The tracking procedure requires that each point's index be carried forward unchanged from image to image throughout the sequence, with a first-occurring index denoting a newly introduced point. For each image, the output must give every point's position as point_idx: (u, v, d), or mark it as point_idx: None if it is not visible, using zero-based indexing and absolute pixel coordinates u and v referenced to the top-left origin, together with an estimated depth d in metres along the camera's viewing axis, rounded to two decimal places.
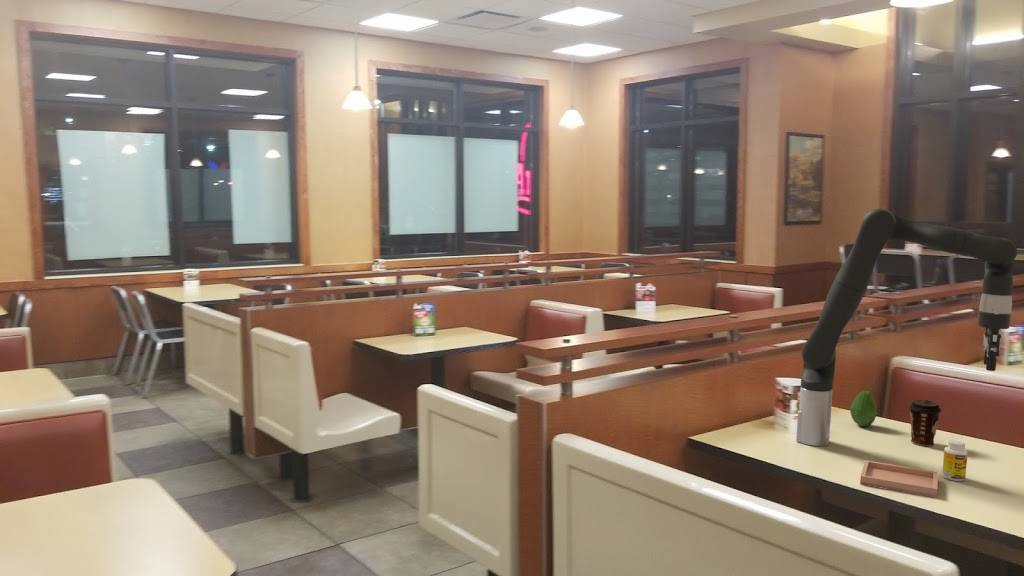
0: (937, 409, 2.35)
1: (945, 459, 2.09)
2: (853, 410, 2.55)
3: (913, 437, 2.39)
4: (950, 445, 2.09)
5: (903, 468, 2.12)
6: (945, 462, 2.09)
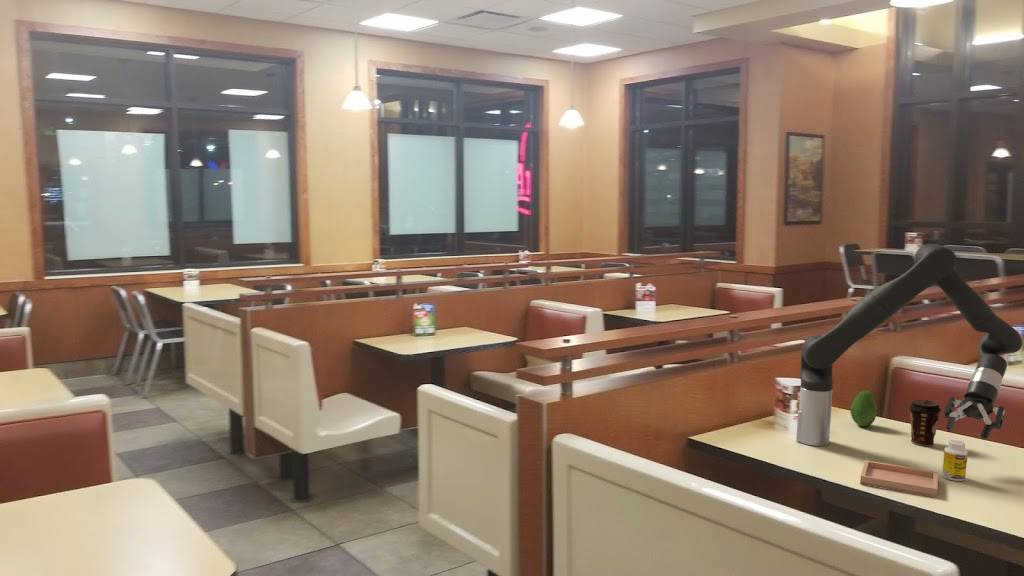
0: (937, 409, 2.35)
1: (945, 459, 2.09)
2: (853, 410, 2.55)
3: (913, 437, 2.39)
4: (950, 445, 2.09)
5: (903, 468, 2.12)
6: (945, 462, 2.09)
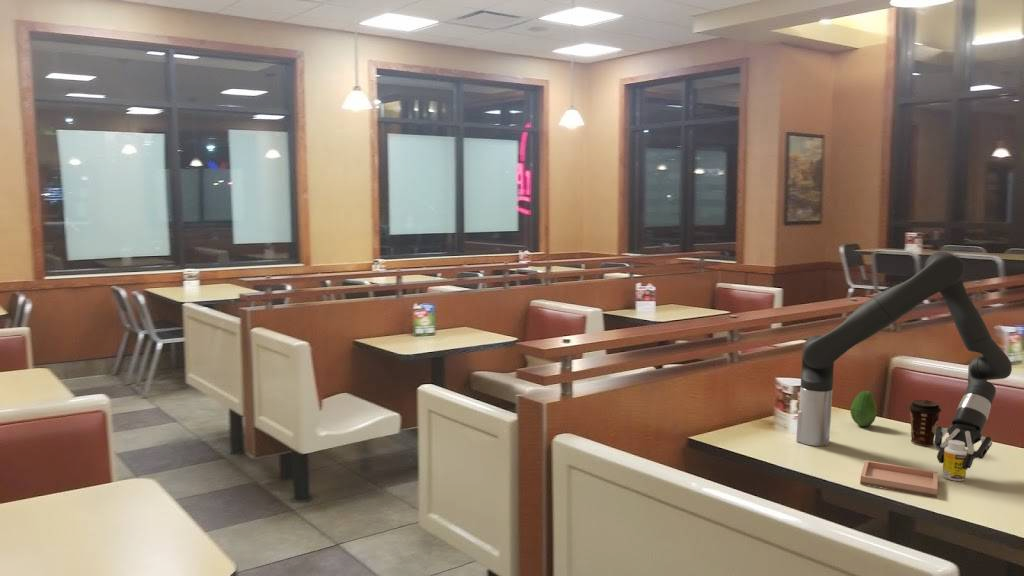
0: (937, 409, 2.35)
1: (945, 459, 2.09)
2: (853, 410, 2.55)
3: (913, 437, 2.39)
4: (950, 445, 2.09)
5: (903, 468, 2.12)
6: (945, 462, 2.09)
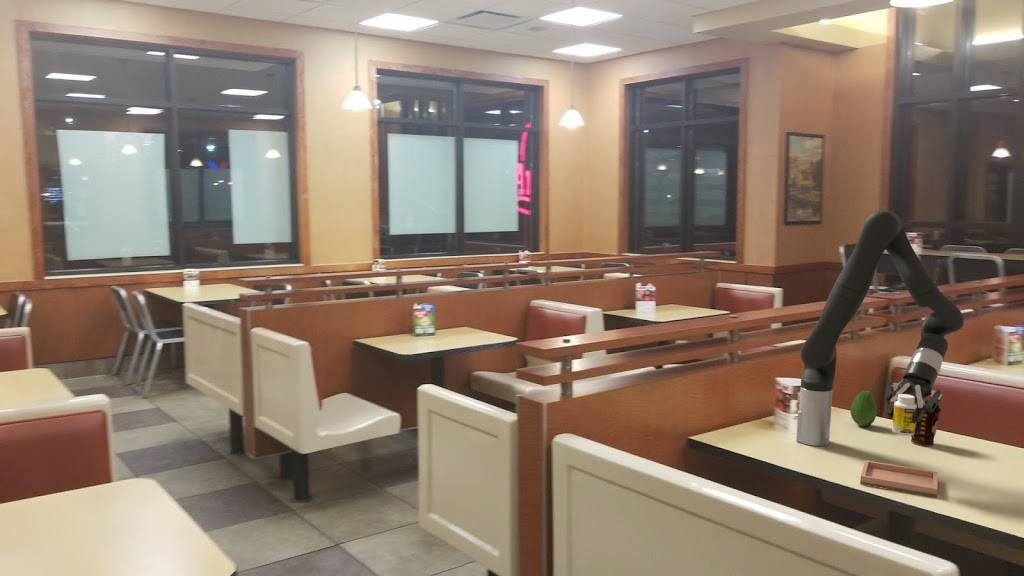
0: (937, 409, 2.35)
1: (894, 413, 2.05)
2: (853, 410, 2.55)
3: (913, 437, 2.39)
4: (899, 399, 2.04)
5: (903, 468, 2.12)
6: (895, 417, 2.04)
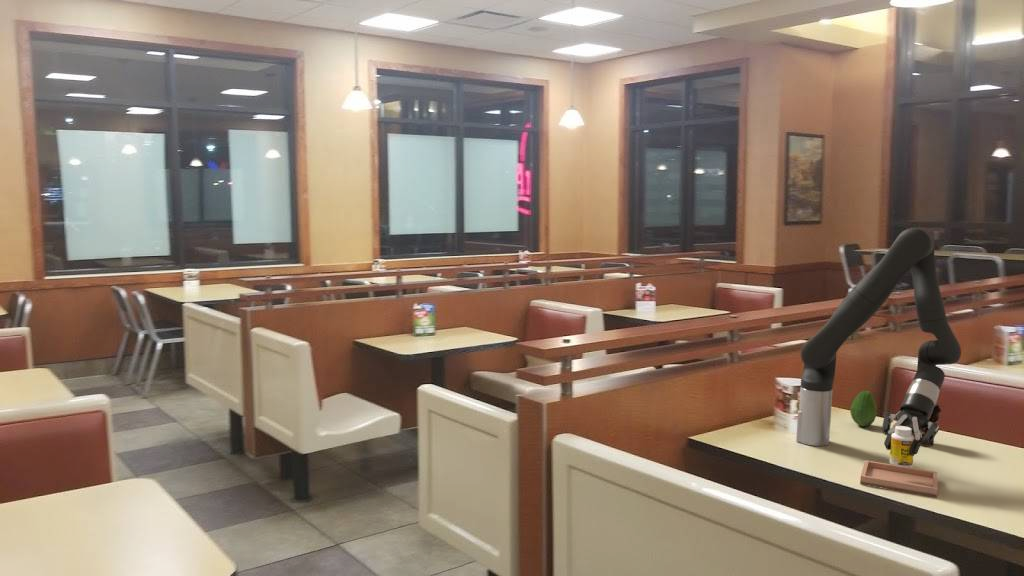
0: (937, 409, 2.35)
1: (892, 445, 2.05)
2: (853, 410, 2.55)
3: None
4: (896, 431, 2.05)
5: (903, 468, 2.12)
6: (892, 449, 2.05)
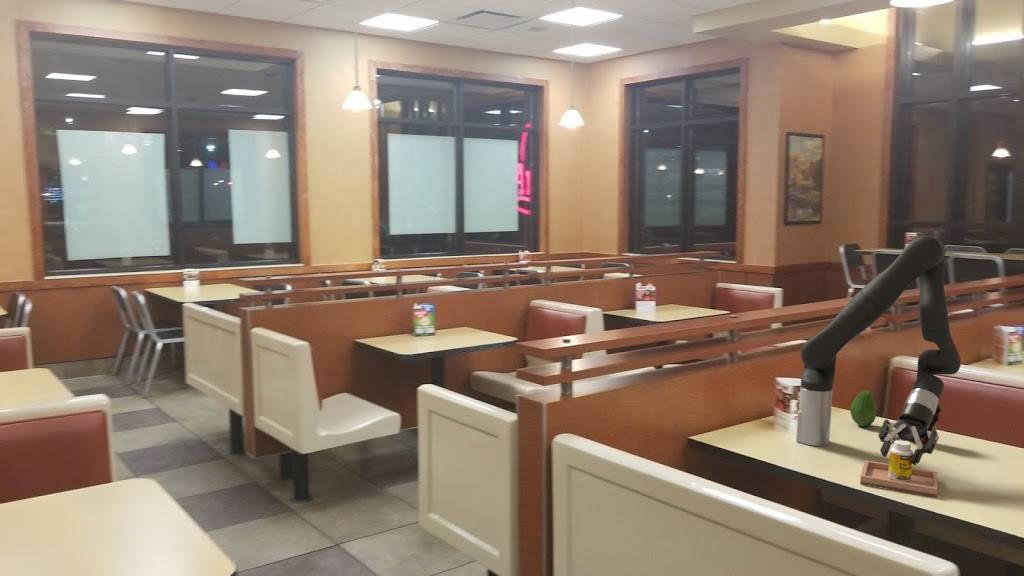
0: (937, 409, 2.35)
1: (891, 460, 2.06)
2: (853, 410, 2.55)
3: None
4: (895, 445, 2.05)
5: None
6: (891, 463, 2.06)
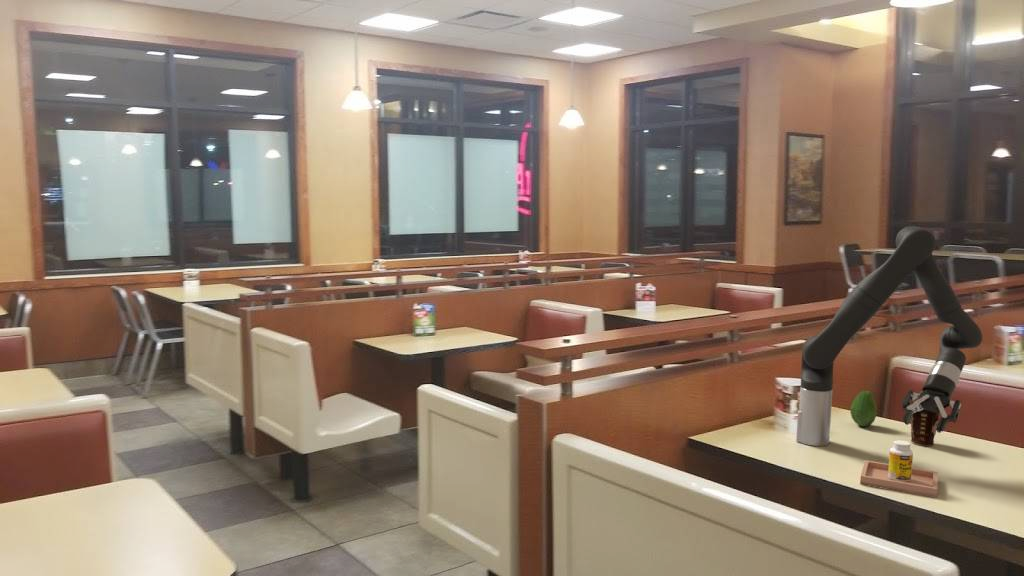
0: None
1: (890, 460, 2.06)
2: (853, 410, 2.55)
3: (913, 437, 2.39)
4: (895, 445, 2.05)
5: None
6: (891, 463, 2.06)
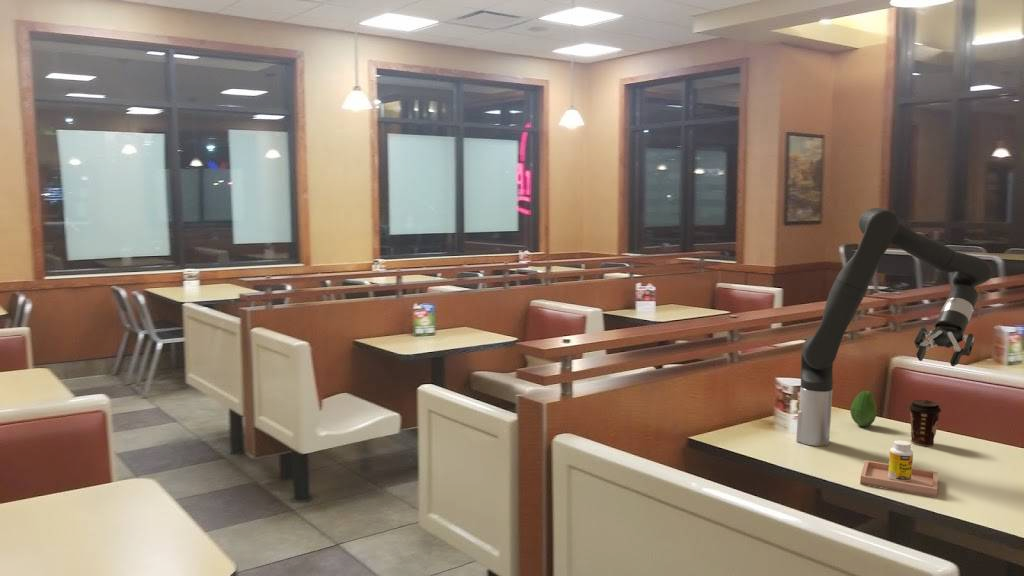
0: (937, 409, 2.35)
1: (890, 460, 2.06)
2: (853, 410, 2.55)
3: (913, 437, 2.39)
4: (895, 445, 2.05)
5: None
6: (891, 463, 2.06)
